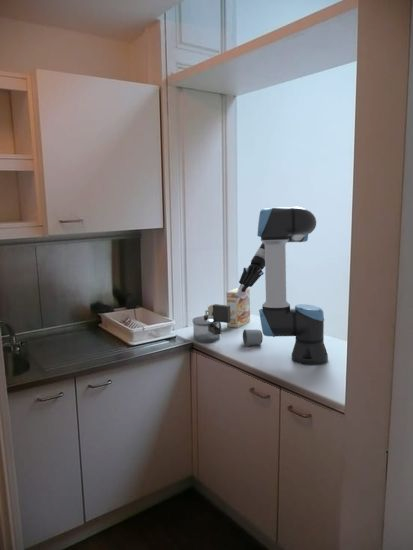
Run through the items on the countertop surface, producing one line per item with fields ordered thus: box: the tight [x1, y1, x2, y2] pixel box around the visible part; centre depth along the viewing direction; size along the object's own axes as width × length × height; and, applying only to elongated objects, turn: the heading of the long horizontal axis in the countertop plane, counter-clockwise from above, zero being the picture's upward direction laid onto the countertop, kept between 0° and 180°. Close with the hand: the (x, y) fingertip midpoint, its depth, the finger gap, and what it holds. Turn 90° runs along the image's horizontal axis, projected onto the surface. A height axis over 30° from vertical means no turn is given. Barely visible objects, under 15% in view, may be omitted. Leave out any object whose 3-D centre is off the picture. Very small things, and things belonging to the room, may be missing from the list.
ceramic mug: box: [242, 329, 264, 347], centre depth 217 cm, size 11×8×8 cm
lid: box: [192, 303, 231, 325], centre depth 223 cm, size 20×14×9 cm
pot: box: [192, 322, 222, 344], centre depth 225 cm, size 25×13×9 cm, turn 24°
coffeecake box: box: [225, 287, 251, 329], centre depth 251 cm, size 15×7×20 cm, turn 147°
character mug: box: [204, 304, 222, 330], centre depth 242 cm, size 11×7×13 cm, turn 113°
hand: (237, 296), depth 226 cm, fingers closed
